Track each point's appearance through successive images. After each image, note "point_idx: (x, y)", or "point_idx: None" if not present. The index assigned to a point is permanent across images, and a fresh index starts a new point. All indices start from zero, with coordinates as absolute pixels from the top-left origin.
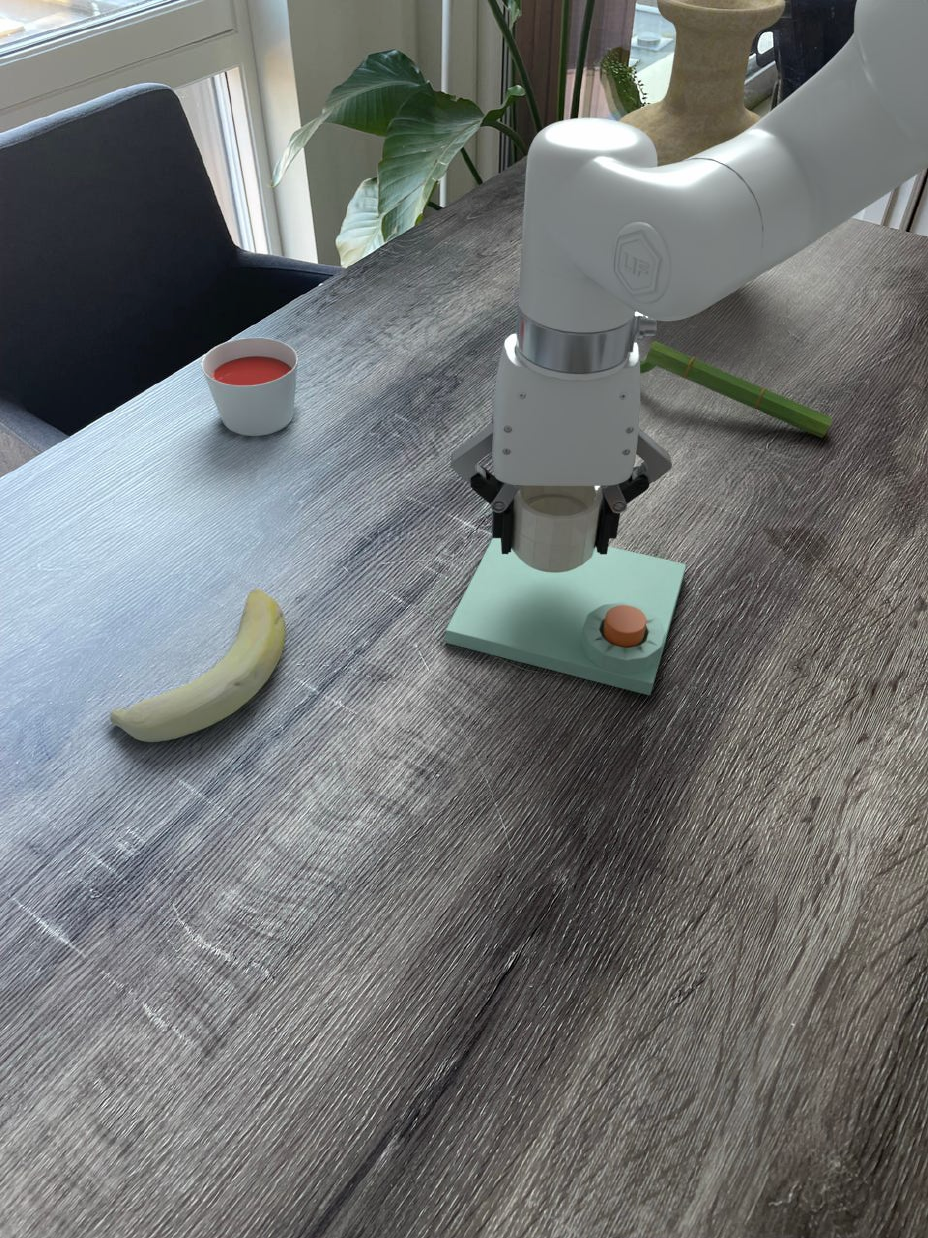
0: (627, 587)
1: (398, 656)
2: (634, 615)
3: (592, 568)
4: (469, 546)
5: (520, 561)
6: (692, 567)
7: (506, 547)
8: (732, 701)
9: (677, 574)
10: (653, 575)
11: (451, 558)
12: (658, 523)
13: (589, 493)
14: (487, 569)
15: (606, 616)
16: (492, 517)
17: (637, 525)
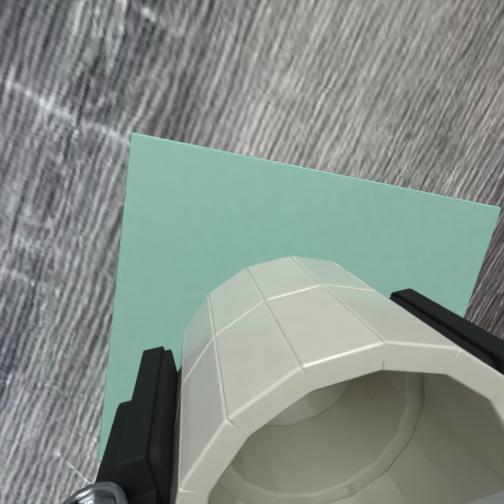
0: (397, 290)
1: (36, 479)
2: None
3: (340, 253)
4: (77, 187)
5: (200, 262)
6: (494, 175)
7: None
8: None
9: (482, 239)
10: (443, 251)
11: (49, 233)
12: (459, 45)
13: (457, 385)
14: (136, 300)
15: None
16: (113, 426)
17: (419, 58)
